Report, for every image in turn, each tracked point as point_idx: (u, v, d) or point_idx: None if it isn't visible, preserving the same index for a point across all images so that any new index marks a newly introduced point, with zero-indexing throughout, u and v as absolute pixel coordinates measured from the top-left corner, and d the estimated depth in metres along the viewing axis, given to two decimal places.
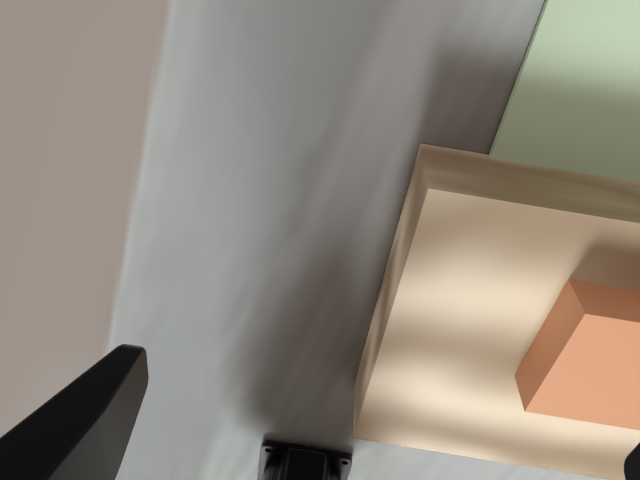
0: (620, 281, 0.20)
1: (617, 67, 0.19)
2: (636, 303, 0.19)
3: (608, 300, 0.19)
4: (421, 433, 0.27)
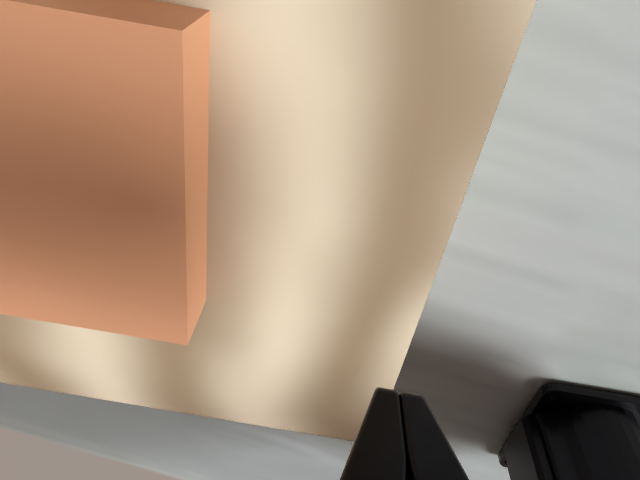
0: None
1: None
2: None
3: None
4: (356, 385, 0.18)
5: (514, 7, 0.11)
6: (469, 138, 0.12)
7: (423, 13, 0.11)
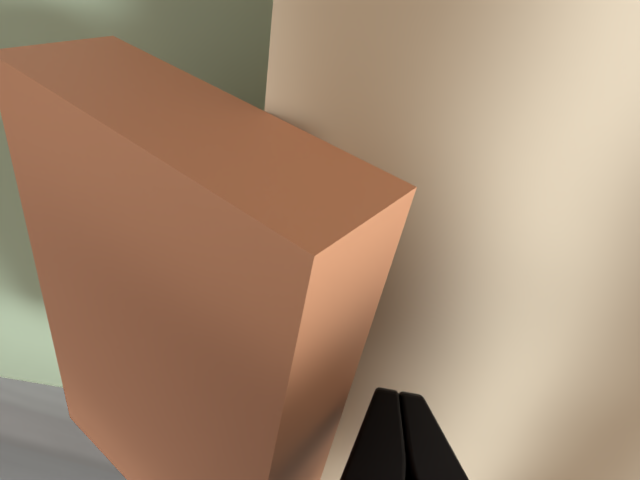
0: None
1: None
2: None
3: None
4: None
5: None
6: None
7: None
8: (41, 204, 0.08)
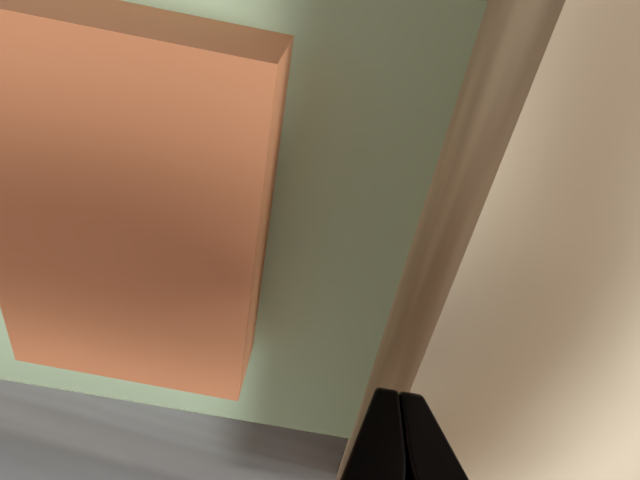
0: (508, 467, 0.11)
1: None
2: (252, 315, 0.13)
3: (249, 342, 0.13)
4: None
5: None
6: None
7: None
8: None
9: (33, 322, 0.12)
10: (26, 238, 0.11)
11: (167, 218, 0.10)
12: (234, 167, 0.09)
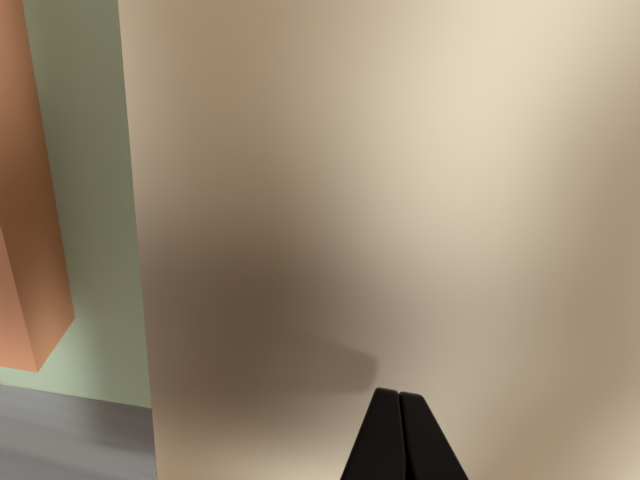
0: (278, 435, 0.11)
1: None
2: (40, 282, 0.12)
3: (50, 311, 0.13)
4: None
5: None
6: None
7: None
8: None
9: None
10: None
11: None
12: None
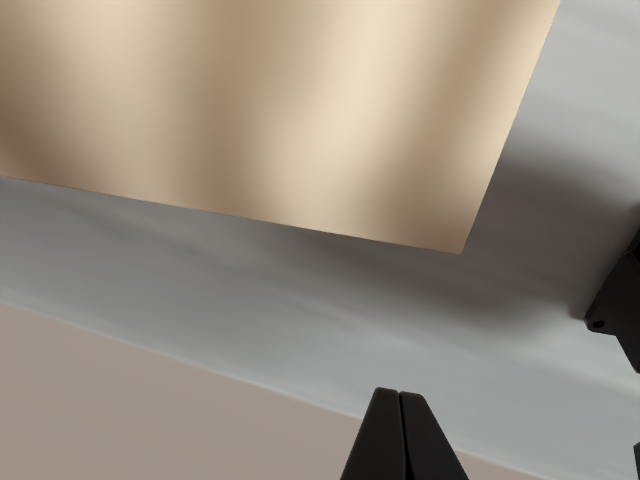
0: None
1: None
2: None
3: None
4: (451, 153, 0.15)
5: None
6: None
7: None
8: None
9: None
10: None
11: None
12: None
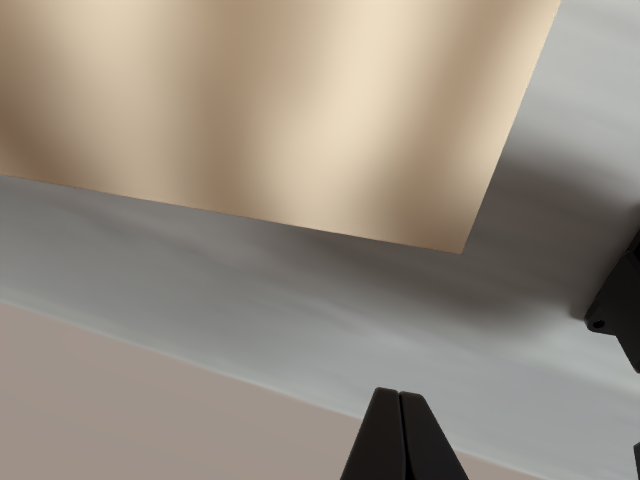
0: None
1: None
2: None
3: None
4: (452, 153, 0.15)
5: None
6: None
7: None
8: None
9: None
10: None
11: None
12: None
